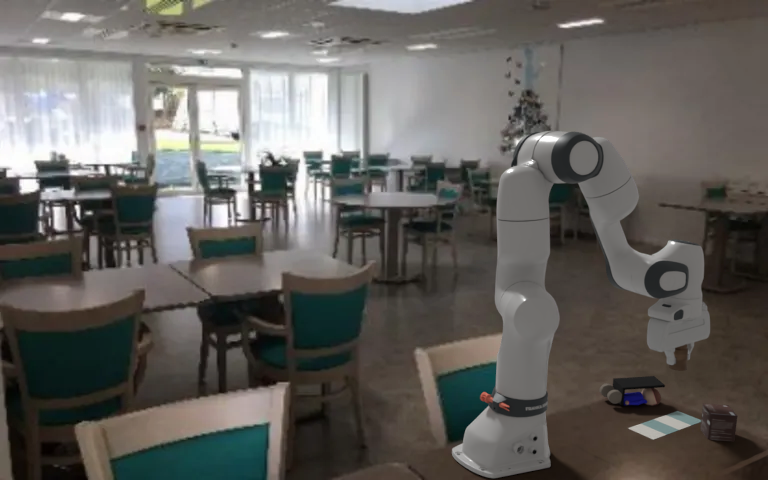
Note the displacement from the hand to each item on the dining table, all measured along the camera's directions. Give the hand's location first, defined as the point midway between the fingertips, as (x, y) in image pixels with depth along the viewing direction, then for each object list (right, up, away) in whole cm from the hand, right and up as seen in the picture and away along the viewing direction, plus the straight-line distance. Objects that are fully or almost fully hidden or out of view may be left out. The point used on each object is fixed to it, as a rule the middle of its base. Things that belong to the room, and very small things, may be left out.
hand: (678, 361), depth 161 cm
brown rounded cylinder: (0, -2, 0) cm, 2 cm away
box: (+8, -18, -4) cm, 20 cm away
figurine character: (-6, -15, +14) cm, 21 cm away
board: (-2, -16, +2) cm, 17 cm away
